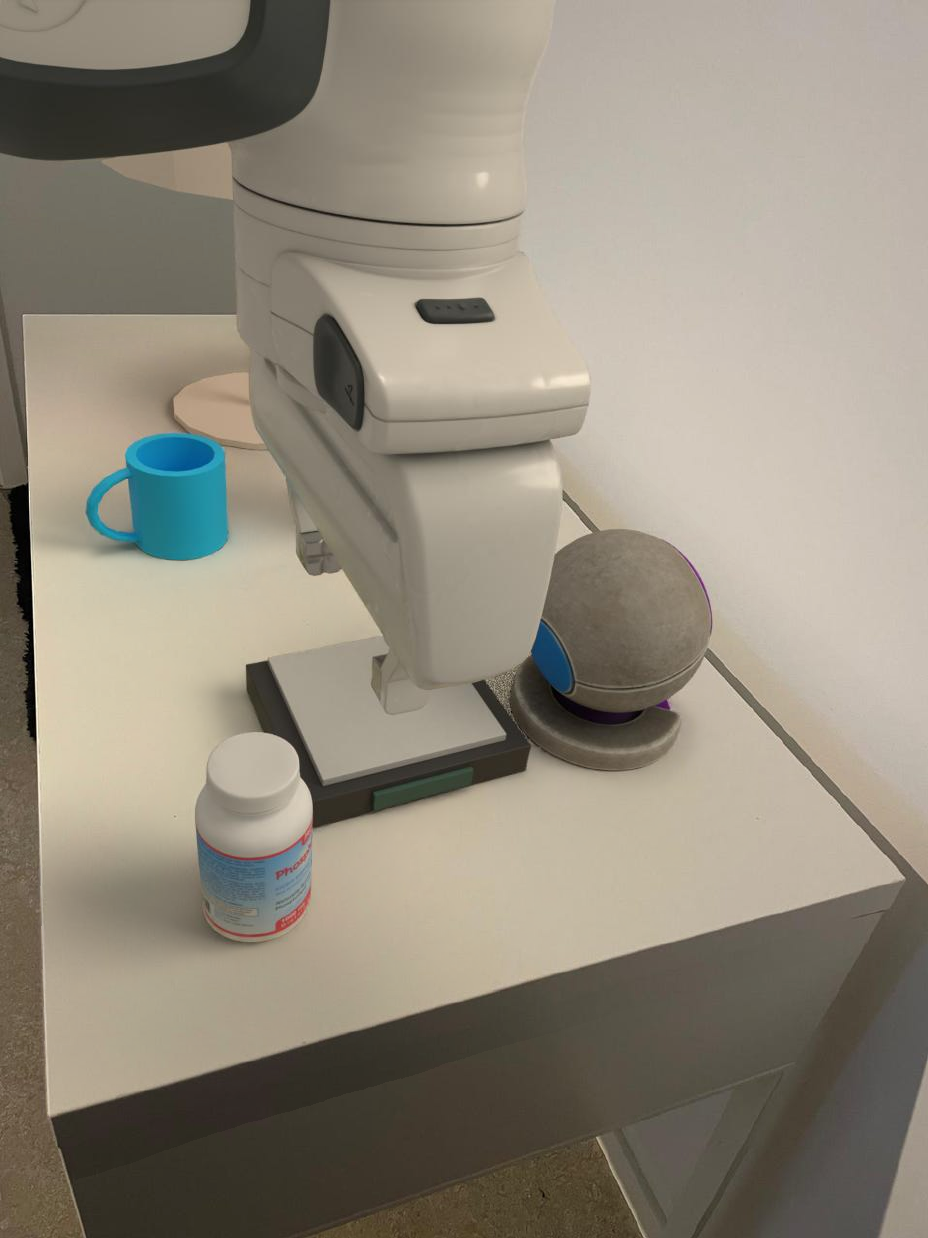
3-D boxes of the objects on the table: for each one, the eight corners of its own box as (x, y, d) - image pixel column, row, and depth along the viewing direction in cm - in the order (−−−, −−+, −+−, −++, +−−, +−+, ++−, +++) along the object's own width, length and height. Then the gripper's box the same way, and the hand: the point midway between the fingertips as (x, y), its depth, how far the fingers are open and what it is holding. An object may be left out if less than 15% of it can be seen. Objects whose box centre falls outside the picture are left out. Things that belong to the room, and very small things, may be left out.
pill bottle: (301, 952, 50) (304, 814, 43) (190, 943, 49) (175, 803, 43) (317, 863, 55) (322, 727, 48) (216, 854, 54) (207, 716, 48)
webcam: (710, 742, 68) (774, 576, 59) (572, 793, 62) (620, 617, 53) (607, 642, 76) (649, 484, 67) (477, 678, 70) (505, 511, 62)
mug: (208, 505, 86) (203, 427, 82) (242, 548, 81) (240, 466, 76) (78, 531, 80) (65, 447, 75) (106, 578, 75) (94, 492, 70)
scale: (305, 835, 56) (306, 801, 54) (246, 690, 66) (245, 657, 64) (528, 774, 63) (535, 742, 61) (443, 650, 73) (447, 620, 71)
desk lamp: (105, 371, 109) (69, 70, 90) (337, 356, 121) (347, 90, 103) (159, 486, 88) (126, 129, 70) (431, 454, 101) (464, 144, 83)
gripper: (204, 201, 35) (219, 512, 43) (404, 426, 21) (369, 827, 29) (357, 205, 38) (344, 497, 46) (630, 406, 23) (540, 779, 31)
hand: (355, 627), depth 37 cm, fingers open, 8 cm apart
